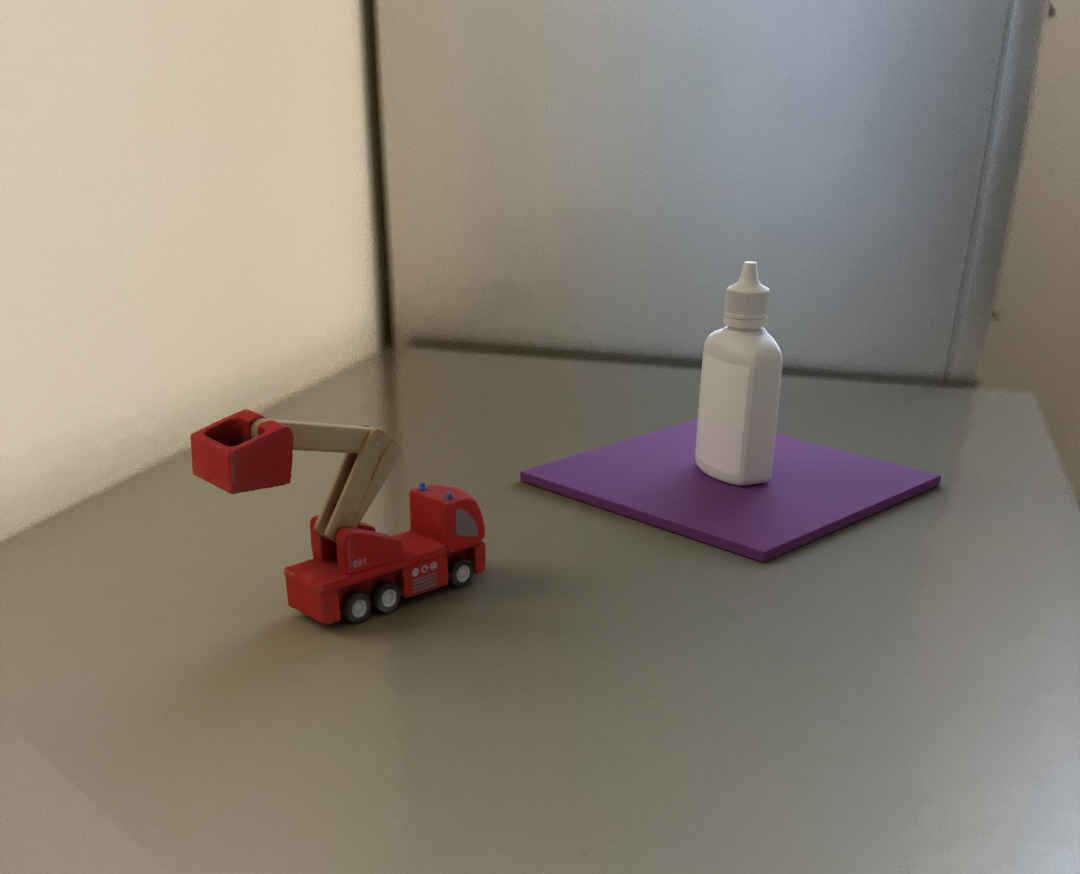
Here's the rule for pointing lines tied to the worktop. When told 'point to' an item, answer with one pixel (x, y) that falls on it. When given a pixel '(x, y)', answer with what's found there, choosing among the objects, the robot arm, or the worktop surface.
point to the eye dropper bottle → (740, 388)
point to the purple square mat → (732, 490)
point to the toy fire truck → (348, 514)
